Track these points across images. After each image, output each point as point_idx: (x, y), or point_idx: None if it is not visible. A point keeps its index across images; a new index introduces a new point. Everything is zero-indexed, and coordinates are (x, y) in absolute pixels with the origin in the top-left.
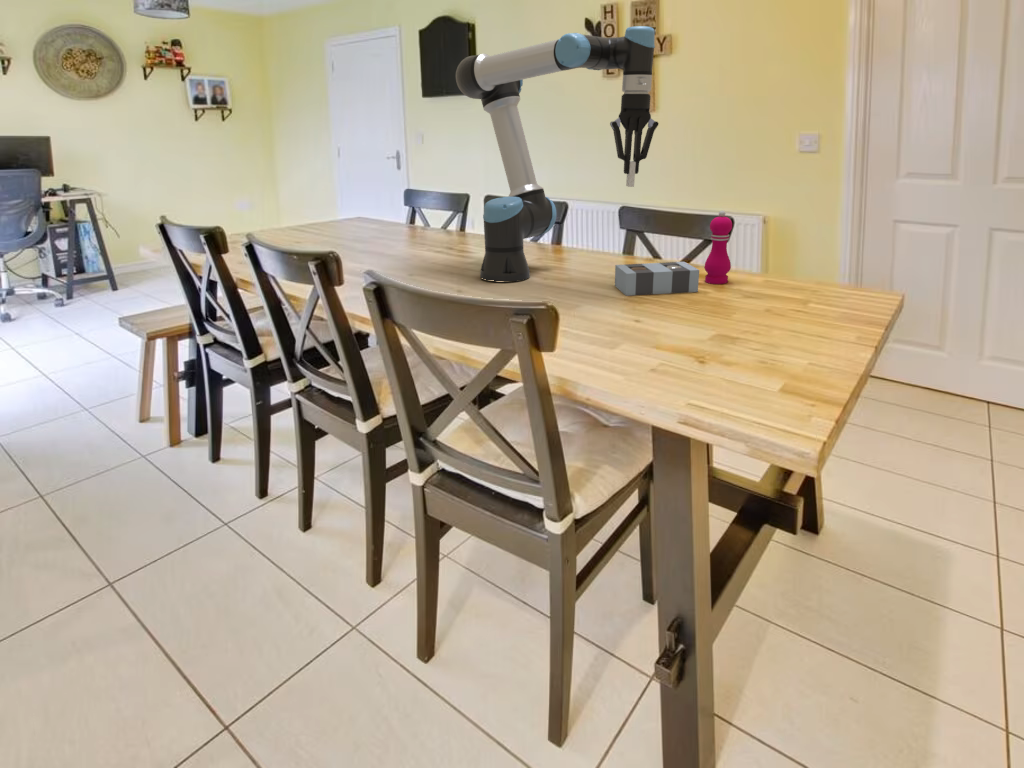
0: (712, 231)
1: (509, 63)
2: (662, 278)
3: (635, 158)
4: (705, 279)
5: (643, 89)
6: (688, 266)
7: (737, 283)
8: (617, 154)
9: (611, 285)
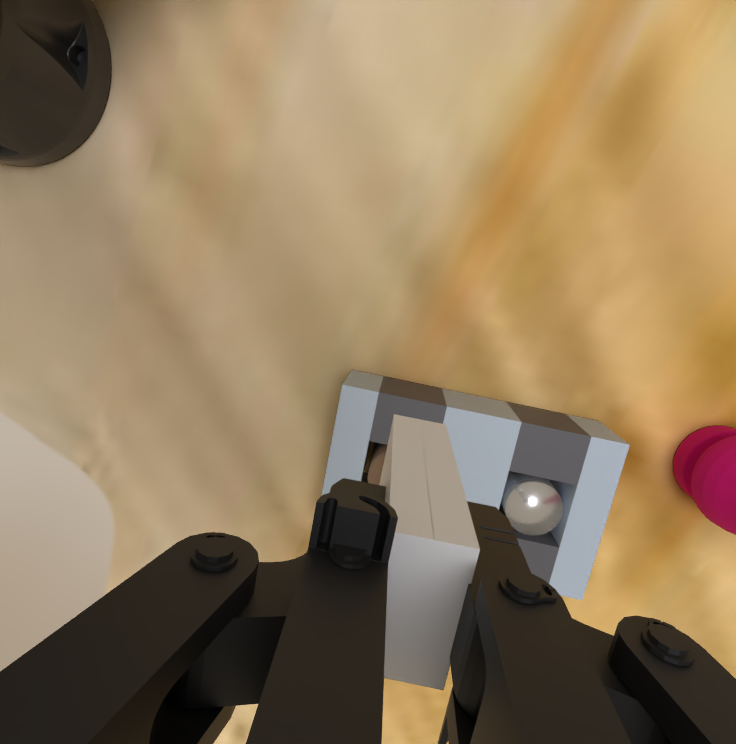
0: None
1: None
2: None
3: (449, 717)
4: (680, 452)
5: None
6: (585, 532)
7: None
8: (144, 579)
9: (344, 358)
